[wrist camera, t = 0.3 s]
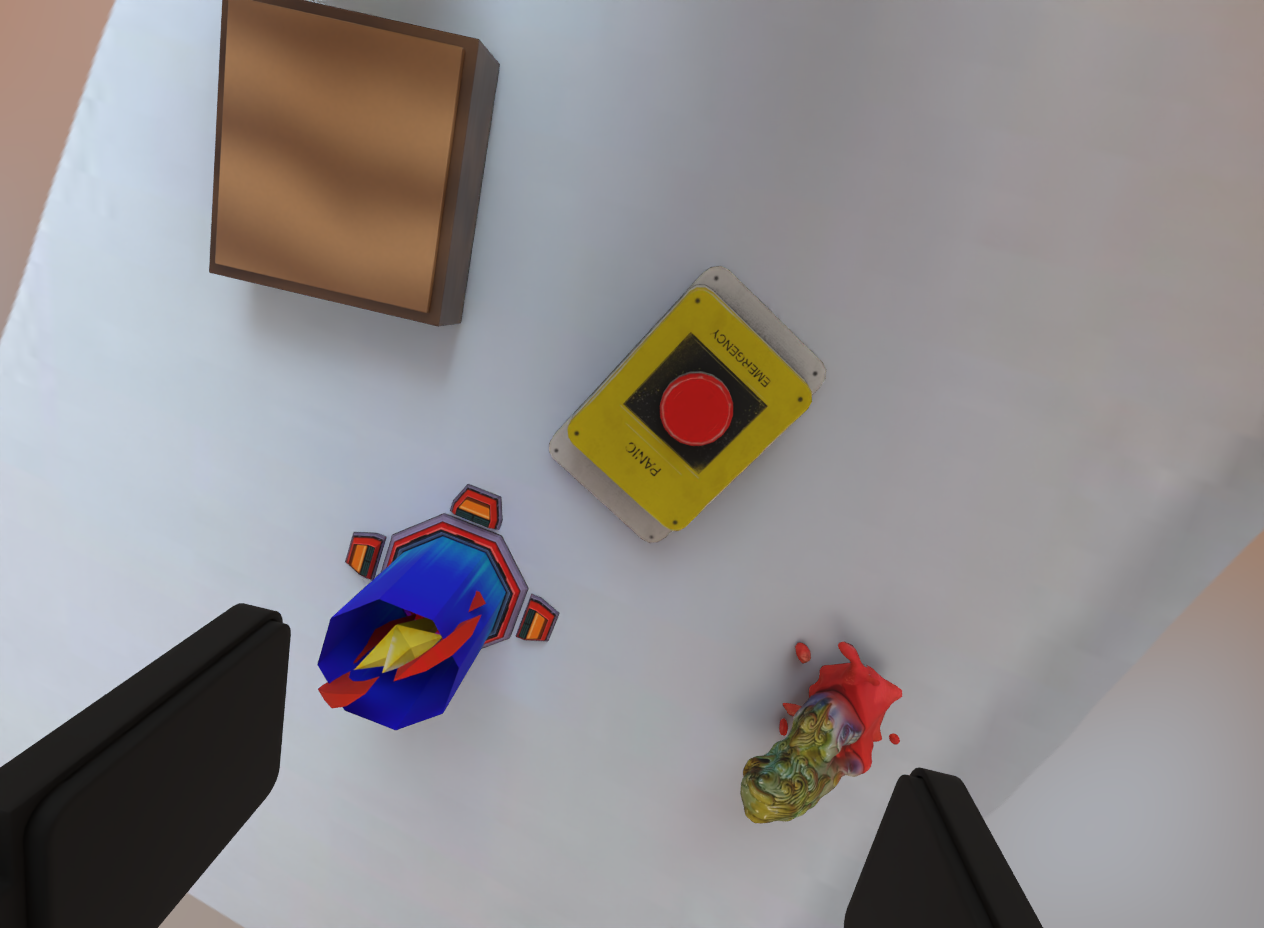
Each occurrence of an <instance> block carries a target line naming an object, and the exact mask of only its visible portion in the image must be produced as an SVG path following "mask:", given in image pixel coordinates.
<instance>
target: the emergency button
mask: <svg viewBox="0 0 1264 928" xmlns="http://www.w3.org/2000/svg"><path fill="white" fill-rule="evenodd" d="M825 377H826V368H825V366H824V364H823V362H822V361H821V360H820V359H819V358H818V357H817V356H816V355H815V354H814V353H813V352H812V351H811V350H810V349H809V348H808V347H807V346H806V345H804V344H803V343H802V342H801V341H800V340H799V339H798V338H797V337H796V336H795V335H794V334H793V333H792V332H791V331H790V330H789V329H788V328H787V327H786V326H785V325H784V324H783V323H782V322H781V321H780V320H779V319H778V318H777V317H776V316H775V315H774V314H773V313H772V312H771V311H770V310H769V309H768V308H767V307H766V306H765V305H764V304H763V303H762V302H761V301H760V300H759V299H758V298H757V297H756V296H755V295H754V294H753V293H752V292H751V291H750V290H749V289H748V288H747V287H746V286H745V285H744V284H743V283H742V282H741V281H740V280H739V279H738V278H737V277H736V276H735V275H734V274H733V273H732V272H731V271H730V270H728V269H726V268H724V267H722V266H717V267H711V268H709V269H708V270H706V271H705V272H704V273H702V274H701V275H700V277H699V278H698V279H697V280H696V281H695V282H694V283H693V284H692V285H691V286H690V287H689V288H688V290H687V291H686V292H685V293H684V294H683V295H682V296H681V297H680V298H679V299H678V300H677V302H676V303H675V304H674V305H673V306H672V307H671V308H670V309H669V310H668V311H667V312H666V314H665V315H664V316H663V317H662V318H661V319H660V320H659V321H658V322H657V323H656V324H655V326H654V327H653V328H652V329H651V330H650V331H649V332H648V333H647V334H646V335H645V336H644V337H643V339H642V340H641V341H640V342H639V343H638V344H637V345H636V346H635V347H634V348H633V349H632V351H631V352H630V353H629V354H628V355H627V356H626V357H625V358H624V359H623V360H622V361H621V363H620V364H619V365H618V366H617V367H616V368H615V369H614V370H613V371H612V372H611V373H610V375H609V376H608V377H607V378H606V379H605V380H604V381H603V382H602V383H601V384H600V385H599V386H598V388H597V389H596V390H595V391H594V392H593V393H592V394H591V395H590V396H589V397H588V398H587V400H586V401H585V402H584V403H583V404H582V405H581V406H580V407H579V408H578V409H577V410H576V412H575V413H574V414H573V415H572V416H571V417H570V418H569V419H568V420H567V421H566V422H565V423H564V425H563V426H562V427H561V428H560V429H559V430H558V431H557V432H556V433H555V435H554V436H553V438H552V439H551V441H550V443H549V453H550V454H551V456H552V457H553V459H554V460H555V461H556V462H557V463H558V464H559V465H561V466H562V467H563V468H564V469H565V470H566V471H567V472H568V473H569V474H570V475H572V476H573V477H574V478H575V479H576V480H577V481H578V482H579V483H580V484H582V485H583V486H584V487H585V488H586V489H587V490H588V491H589V492H590V493H591V494H593V495H594V496H595V497H596V498H597V499H598V500H599V501H600V502H601V503H602V504H604V505H605V506H606V507H607V508H608V509H609V510H610V511H611V512H612V513H614V514H615V515H616V516H617V517H618V518H619V519H620V520H621V521H622V522H623V523H625V524H626V525H627V526H628V527H629V528H630V529H631V530H632V531H633V532H634V533H636V534H637V535H638V536H639V537H640V538H641V539H642V540H644V541H647V542H649V543H653V542H659V541H661V540H662V539H664V538H666V537H667V536H668V535H669V534H670V533H671V532H672V531H679V530H681V529H683V528H685V527H686V526H687V525H688V524H689V523H690V522H691V521H692V520H693V519H694V518H695V517H696V516H697V515H698V514H699V513H700V512H702V511H703V510H704V509H705V508H706V507H707V506H708V505H709V504H710V503H711V502H712V501H713V500H714V499H715V498H716V497H717V496H718V495H719V494H720V493H721V492H722V491H723V490H724V489H725V488H726V487H727V486H728V485H729V484H731V483H732V482H733V481H734V480H735V479H736V478H737V477H738V476H739V475H740V474H741V473H742V472H743V471H744V470H745V469H746V468H747V467H748V466H749V465H750V464H751V463H752V462H753V461H754V460H755V459H756V458H757V457H758V456H759V455H761V454H762V453H763V452H764V451H765V450H766V449H767V448H768V447H769V446H770V445H771V444H772V443H773V442H774V441H775V440H776V439H777V438H778V437H779V436H780V435H781V434H782V433H783V432H784V431H785V430H786V429H787V428H788V427H789V426H791V425H792V424H793V423H794V422H795V421H796V420H797V419H798V418H799V417H800V416H801V415H802V414H803V413H804V412H805V411H806V410H807V409H808V408H809V406H810V404H811V402H812V395H813V394H814V393H815V392H816V391H817V390H818V389H819V388H820V387H821V385H822V384H823V382H824V380H825Z"/></svg>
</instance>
